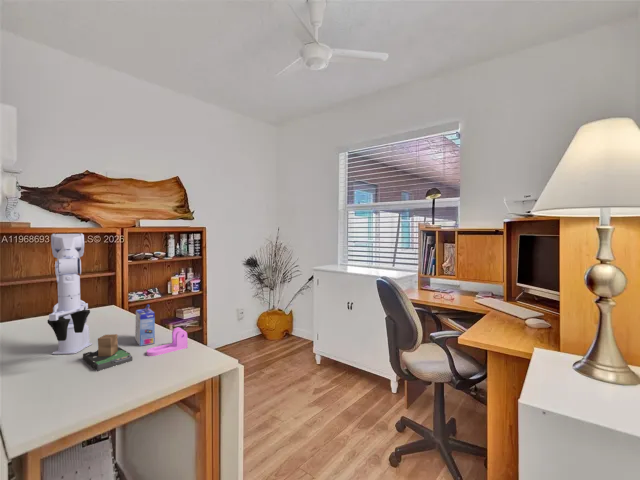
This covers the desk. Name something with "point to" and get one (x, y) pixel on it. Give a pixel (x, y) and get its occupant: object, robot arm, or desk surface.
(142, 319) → the ink cartridge box
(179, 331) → the bracket
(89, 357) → the disk drive
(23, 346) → the desk surface
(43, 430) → the desk surface
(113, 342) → the walnut block
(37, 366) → the desk surface
